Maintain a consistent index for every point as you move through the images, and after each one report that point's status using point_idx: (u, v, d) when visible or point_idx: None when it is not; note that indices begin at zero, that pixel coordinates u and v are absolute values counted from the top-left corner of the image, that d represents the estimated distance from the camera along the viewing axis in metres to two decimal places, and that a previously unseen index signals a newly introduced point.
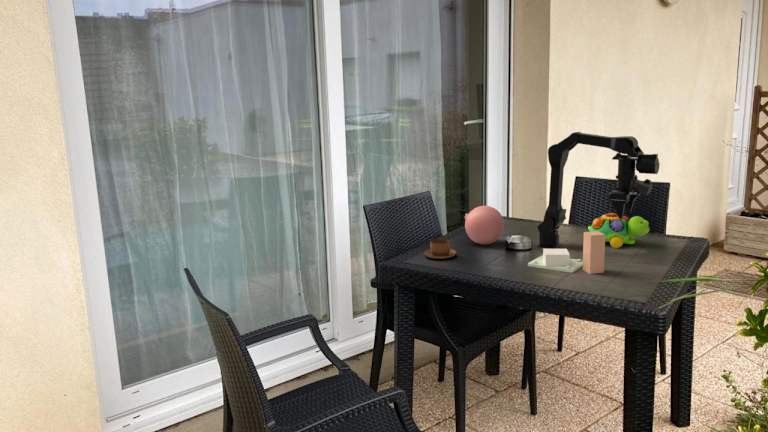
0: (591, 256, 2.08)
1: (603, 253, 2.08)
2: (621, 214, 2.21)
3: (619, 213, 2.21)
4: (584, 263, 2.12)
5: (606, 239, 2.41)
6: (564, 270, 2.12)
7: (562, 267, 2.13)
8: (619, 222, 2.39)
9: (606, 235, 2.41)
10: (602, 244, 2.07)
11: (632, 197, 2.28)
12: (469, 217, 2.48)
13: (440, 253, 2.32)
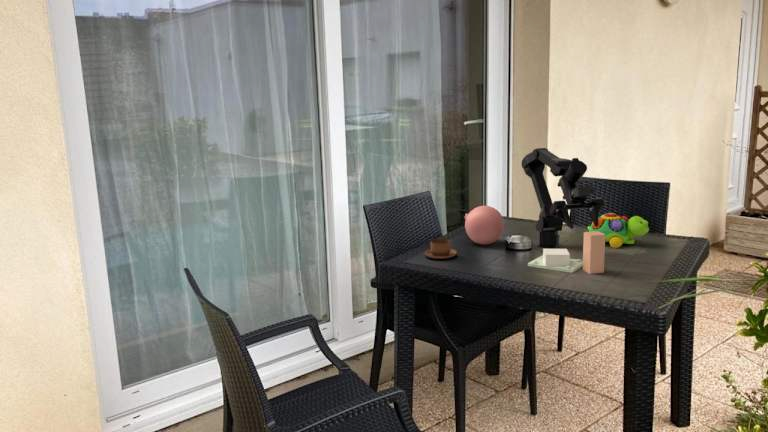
0: (591, 256, 2.08)
1: (603, 253, 2.08)
2: (569, 224, 2.16)
3: (569, 224, 2.17)
4: (584, 263, 2.12)
5: (605, 239, 2.42)
6: (564, 270, 2.12)
7: (562, 267, 2.13)
8: (618, 222, 2.40)
9: (605, 235, 2.41)
10: (602, 244, 2.07)
11: (593, 210, 2.20)
12: (469, 217, 2.48)
13: (440, 253, 2.32)
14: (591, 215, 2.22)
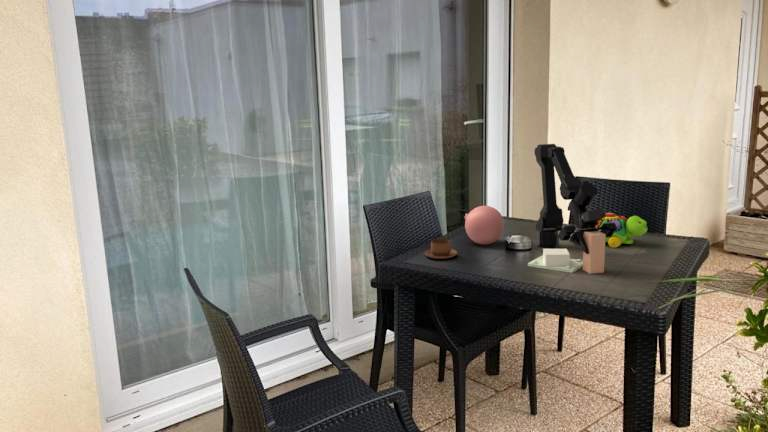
0: (592, 256, 2.08)
1: (603, 253, 2.08)
2: (585, 249, 2.09)
3: (584, 248, 2.09)
4: (584, 263, 2.12)
5: None
6: (564, 270, 2.12)
7: (562, 267, 2.13)
8: (617, 222, 2.40)
9: None
10: (602, 244, 2.07)
11: None
12: (469, 217, 2.48)
13: (441, 253, 2.32)
14: None
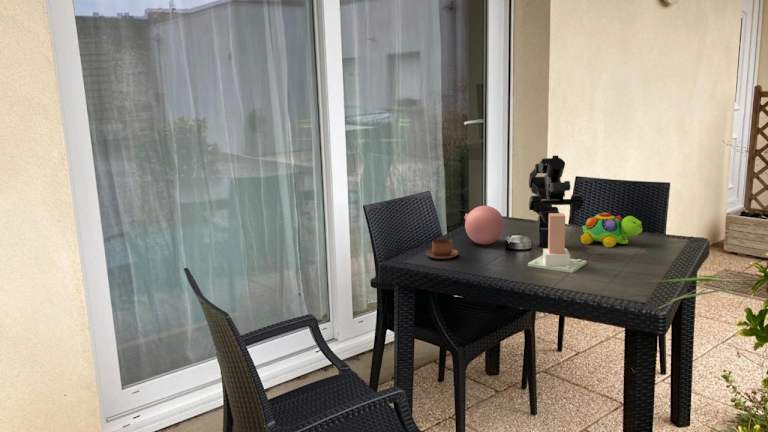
0: (551, 236, 2.15)
1: (563, 234, 2.14)
2: (543, 217, 2.26)
3: (543, 218, 2.26)
4: (548, 243, 2.20)
5: (599, 239, 2.43)
6: (564, 270, 2.12)
7: (562, 267, 2.13)
8: (612, 222, 2.40)
9: (599, 235, 2.42)
10: (562, 225, 2.14)
11: (571, 206, 2.27)
12: (469, 217, 2.48)
13: (442, 253, 2.32)
14: (570, 211, 2.28)
